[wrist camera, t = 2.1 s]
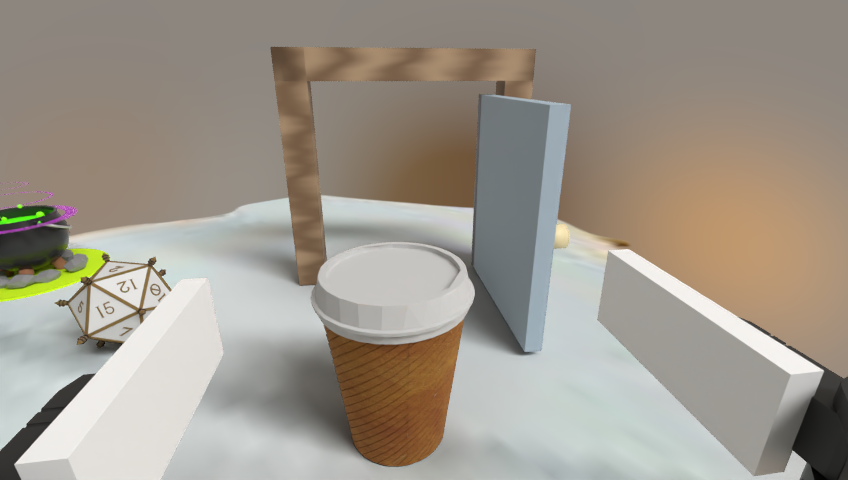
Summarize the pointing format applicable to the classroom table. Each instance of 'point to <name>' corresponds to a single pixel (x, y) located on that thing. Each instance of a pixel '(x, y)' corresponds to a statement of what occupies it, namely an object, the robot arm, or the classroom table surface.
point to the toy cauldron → (40, 252)
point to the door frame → (365, 65)
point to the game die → (116, 300)
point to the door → (519, 207)
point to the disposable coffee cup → (394, 342)
